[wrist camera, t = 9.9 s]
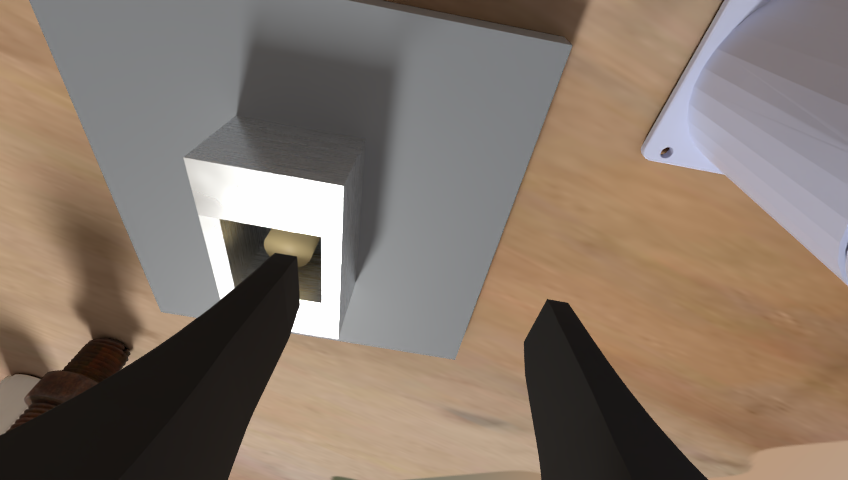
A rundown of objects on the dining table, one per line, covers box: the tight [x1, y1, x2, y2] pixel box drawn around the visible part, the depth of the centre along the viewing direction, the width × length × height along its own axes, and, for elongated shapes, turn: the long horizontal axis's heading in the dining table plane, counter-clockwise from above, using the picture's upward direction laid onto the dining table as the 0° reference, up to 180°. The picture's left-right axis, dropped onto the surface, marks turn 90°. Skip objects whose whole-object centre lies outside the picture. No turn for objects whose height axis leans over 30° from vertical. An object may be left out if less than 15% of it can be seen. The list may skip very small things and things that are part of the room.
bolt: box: [6, 338, 130, 432], centre depth 25 cm, size 6×5×15 cm
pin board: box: [29, 0, 572, 360], centre depth 19 cm, size 20×20×4 cm
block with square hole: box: [183, 115, 366, 339], centre depth 18 cm, size 6×9×4 cm, turn 171°
